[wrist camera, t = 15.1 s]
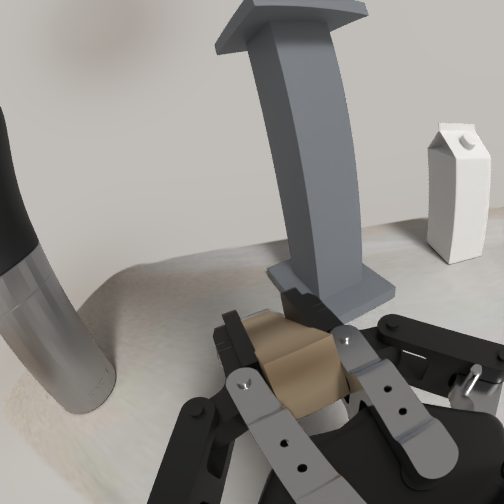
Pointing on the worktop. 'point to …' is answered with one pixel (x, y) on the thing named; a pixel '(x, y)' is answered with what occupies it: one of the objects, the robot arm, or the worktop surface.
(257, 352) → the trowel
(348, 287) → the stand
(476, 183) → the milk carton
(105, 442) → the worktop surface
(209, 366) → the worktop surface
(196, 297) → the worktop surface
